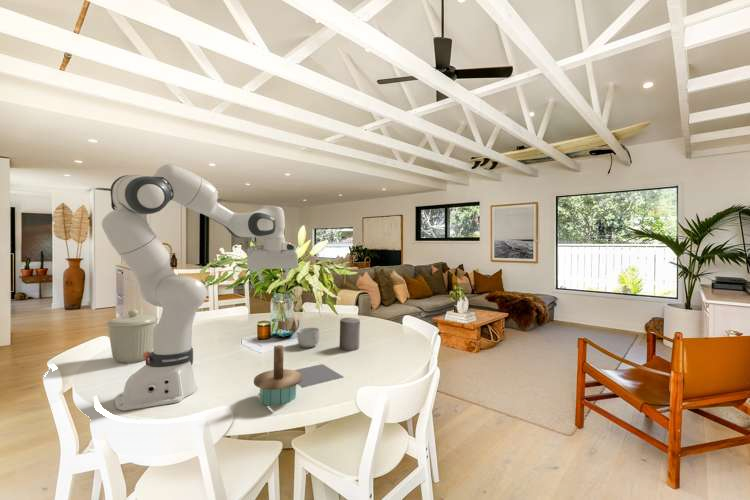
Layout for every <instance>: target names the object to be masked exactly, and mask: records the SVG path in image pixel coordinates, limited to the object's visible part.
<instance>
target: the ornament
mask: <svg viewBox="0 0 750 500" xmlns="http://www.w3.org/2000/svg"><path fill="white" fill-rule="evenodd" d="M299 326H300V317H299V315H298V314H297V312H295V311H294V310H293V317H291V319H290V318H286V320H285V322H280V324H279V329H282V330H286V331H288V330H289V331H293V333H294V334H295V333H297V330H299Z"/></svg>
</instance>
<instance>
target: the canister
mask: <svg viewBox="0 0 750 500" xmlns="http://www.w3.org/2000/svg"><path fill="white" fill-rule="evenodd" d="M127 313H128V315H122V316H116V317H114V318H112V319H110V320H109V321H107V322H106V326H108V335H109V343H110V349H111V354H112V355H111V356H112V358H113V360H114V361H115V362H116V363H119V364H132V362H133V363H138V361H139V362H142V361H144V360H145V361H146V359H145V358H144V357H143V355H144V353H145V352H147V351H148V352H149V353H151V352H153V330H154V327H155V326H156V325H157V324H158V323H157V322H159V317H157V316H155V315H152V314H147V313H146V314H143V313H142V314H141V313H140V314H139V310H137V309H130V310H129V311H128V312H127Z"/></svg>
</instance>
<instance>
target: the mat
mask: <svg viewBox="0 0 750 500" xmlns="http://www.w3.org/2000/svg"><path fill="white" fill-rule="evenodd" d="M293 370H294V371H298V372H299V373H301V374H302V381H301V382H300V383H299V384H297V385H298V387H299V386H300V388H303V389H304V388H307V387H310V386H311V387H312V386H314V385H315V386H316V385H318V384H322V383H327V382H331V381H335V380H339V379H343V378H344V376H343V375H342V374H340V373H339V372H336V371H335V370H333V369H331V368H330V367H328V366H326V365H325V364H323V363H322V364H317V365H312V366H309V367H308V366H307V367H302V368H297V369H293Z"/></svg>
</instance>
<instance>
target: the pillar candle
mask: <svg viewBox="0 0 750 500" xmlns="http://www.w3.org/2000/svg"><path fill="white" fill-rule="evenodd" d="M360 327H361V320H360V318H357V317H342V318H340V321H339V349H341V350H342V351H349V352H350V351H357V350H359V348H360V334H361V333H360V329H361V328H360Z"/></svg>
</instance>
